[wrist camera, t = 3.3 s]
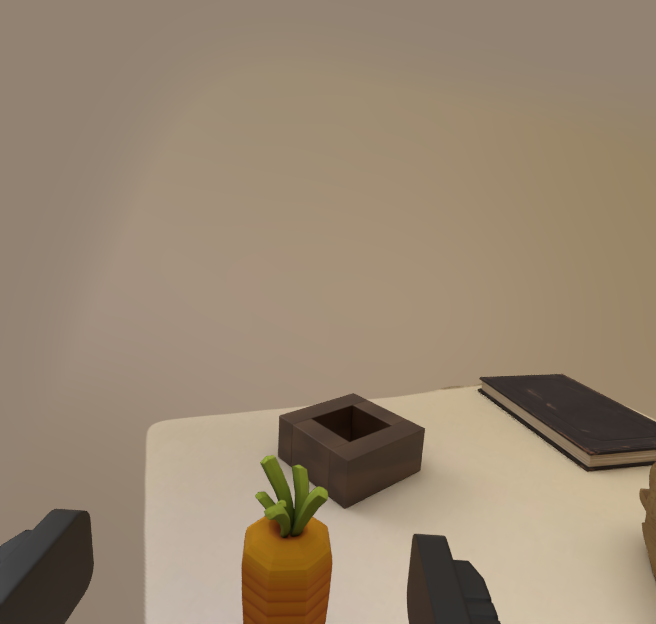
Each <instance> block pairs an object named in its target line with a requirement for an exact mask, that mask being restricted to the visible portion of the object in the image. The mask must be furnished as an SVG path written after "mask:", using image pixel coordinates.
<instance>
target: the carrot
mask: <svg viewBox="0 0 656 624" xmlns="http://www.w3.org/2000/svg"><path fill="white" fill-rule="evenodd" d="M260 463H261V465H262V467H263V469H264V471H265V473H266V475H267V477H268V479H269V481H270V483H271V485H272V487H273V489H274V491H275V494H276V496H277V499H278V502H277V504H275V503H274V502H273V500H272V499H271V498H270V497H269V496H268V494H267V493H266V492H258V493H257V494H256V495H255V497H256V498H257V499H258V500H259V502H260V503H261V504H262V505H263V506H264V508H265V509H266V510H265V511H264V513H265V516H264V517H263V518H261V519H260V520H258V521H257V522H255V523H253V524H252V525H251V526H249V527H248V528H247V530H246V533H245V540H244V550H243V559H242V605H243V624H325V622H326V614H327V607H328V600H329V592H330V582H331V572H332V554H331V547H330V540H329V532H328V528H327V526H326V525H325V524H323V523H322V522H320V521H319V520H317V519H315V518H314V517H312V516H313V515H314V514H315V512H316V511H317V509H318V508H319V507H320V506H321V505H322V504H324V503H325V502H326V500H327V499H328V491H327V490H326V489H324V488H322V487H319V486H318V487H317V488H315V489H313V491H312V492H311V493H310V494H309V480H308V474H307V469H306V468H304V467H302V466H301V465H295V466H292V471H293V481H294V488H295V507H293V501H292V497H291V493H290V489H289V486H288V484H287V481H286V479H285V477H284V474H283V472H282V470H281V468H280V466H279V464H278V462H277V460H276V458H275V456H274V455H272V456H266V457H265V458H264V459H263V460H262V461H261V462H260Z"/></svg>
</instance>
